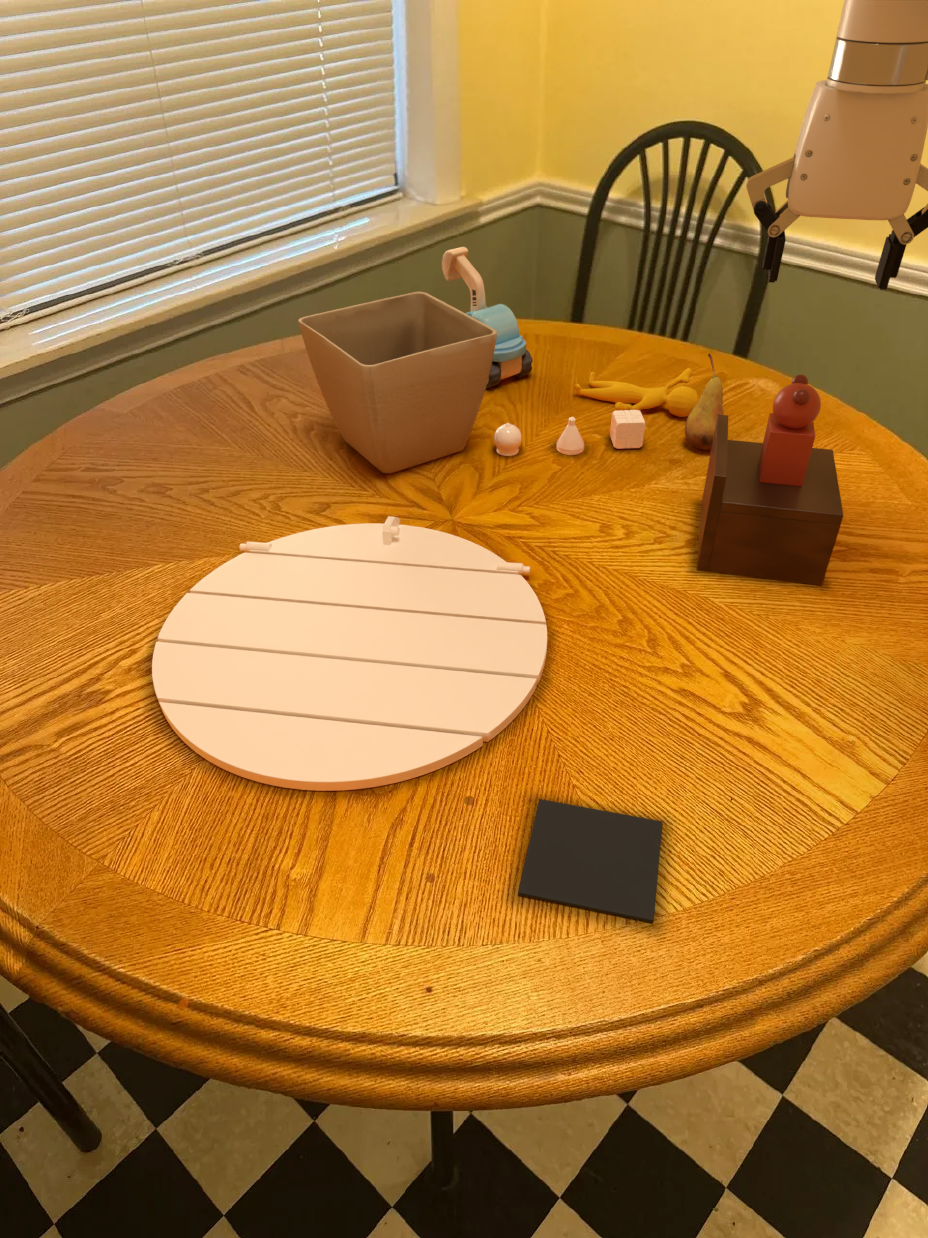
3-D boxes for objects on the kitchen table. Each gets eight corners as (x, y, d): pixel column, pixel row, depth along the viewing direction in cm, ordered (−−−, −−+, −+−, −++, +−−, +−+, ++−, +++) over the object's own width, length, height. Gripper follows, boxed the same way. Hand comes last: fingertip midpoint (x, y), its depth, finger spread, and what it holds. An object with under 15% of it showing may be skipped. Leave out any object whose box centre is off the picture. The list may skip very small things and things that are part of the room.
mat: (662, 824, 69) (662, 821, 69) (653, 923, 62) (653, 920, 62) (539, 801, 71) (539, 798, 71) (517, 895, 64) (517, 892, 64)
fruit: (676, 451, 116) (689, 365, 108) (688, 433, 120) (702, 349, 112) (717, 460, 114) (733, 373, 106) (728, 441, 118) (745, 356, 110)
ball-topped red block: (800, 465, 95) (824, 373, 88) (803, 488, 91) (828, 394, 84) (757, 461, 96) (777, 370, 89) (758, 483, 92) (779, 390, 85)
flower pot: (427, 402, 129) (421, 287, 118) (500, 452, 117) (501, 330, 106) (312, 436, 121) (294, 318, 110) (376, 495, 109) (364, 367, 98)
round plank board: (242, 516, 106) (237, 492, 103) (561, 540, 100) (563, 515, 98) (79, 763, 75) (66, 736, 73) (524, 816, 70) (525, 789, 68)
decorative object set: (643, 452, 116) (646, 421, 113) (494, 457, 116) (495, 427, 113) (636, 436, 119) (640, 406, 117) (492, 441, 119) (492, 411, 116)
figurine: (602, 355, 133) (715, 369, 125) (602, 384, 136) (713, 399, 127) (560, 388, 125) (678, 405, 116) (561, 417, 128) (677, 437, 119)
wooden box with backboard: (814, 516, 103) (839, 425, 95) (821, 586, 93) (851, 489, 85) (701, 504, 106) (717, 414, 98) (696, 570, 95) (714, 475, 88)
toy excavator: (475, 345, 145) (474, 239, 134) (536, 379, 134) (540, 265, 124) (433, 358, 142) (428, 249, 131) (492, 393, 131) (492, 278, 120)
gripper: (986, 60, 70) (918, 274, 82) (767, 56, 74) (730, 262, 85) (1006, 74, 65) (931, 302, 76) (768, 70, 68) (729, 288, 79)
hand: (825, 281), depth 80 cm, fingers open, 9 cm apart
